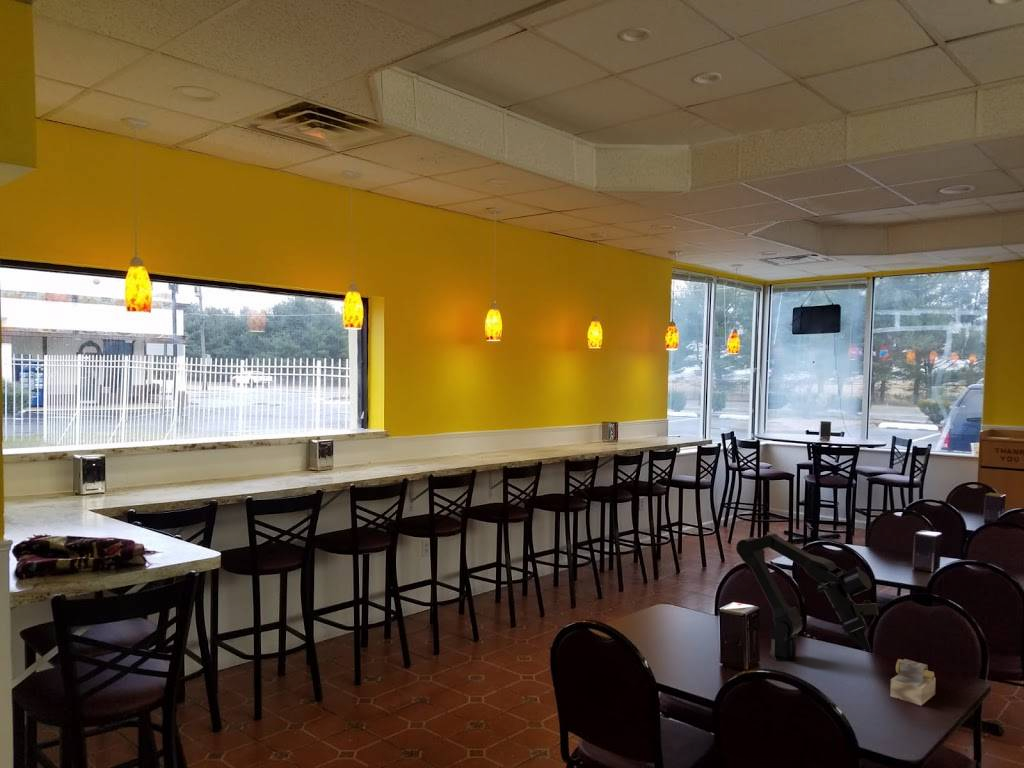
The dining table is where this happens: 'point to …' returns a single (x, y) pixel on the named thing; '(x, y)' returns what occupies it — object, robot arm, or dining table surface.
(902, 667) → the hinge block
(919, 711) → the dining table surface
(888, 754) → the dining table surface
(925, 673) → the pin
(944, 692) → the dining table surface
